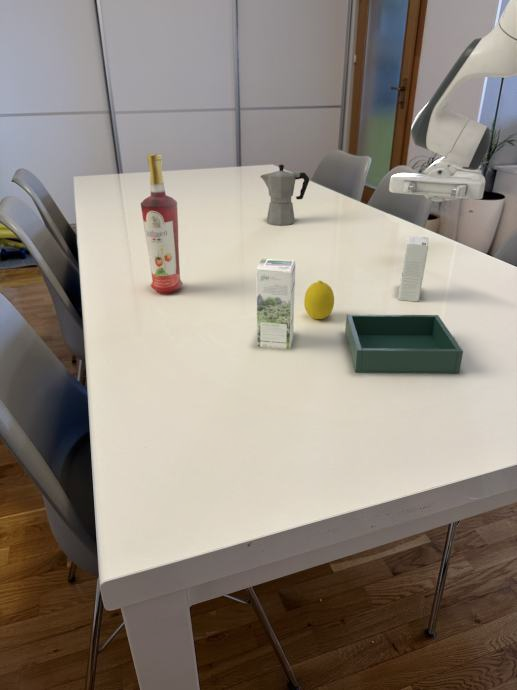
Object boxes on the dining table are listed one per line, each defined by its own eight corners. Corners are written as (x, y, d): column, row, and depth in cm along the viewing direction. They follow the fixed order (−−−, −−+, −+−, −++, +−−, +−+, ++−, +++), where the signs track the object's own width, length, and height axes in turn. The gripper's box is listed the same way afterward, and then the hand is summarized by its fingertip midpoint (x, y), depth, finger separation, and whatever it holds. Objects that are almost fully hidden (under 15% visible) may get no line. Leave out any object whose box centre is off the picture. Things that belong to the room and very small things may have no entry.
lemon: (307, 328, 94) (309, 286, 91) (300, 316, 99) (301, 276, 95) (336, 325, 95) (339, 285, 91) (328, 314, 100) (330, 275, 96)
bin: (434, 338, 90) (438, 314, 88) (458, 377, 78) (463, 351, 76) (344, 337, 90) (346, 314, 88) (354, 376, 78) (357, 350, 76)
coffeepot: (259, 225, 164) (259, 166, 156) (261, 219, 172) (260, 162, 164) (308, 225, 163) (310, 166, 155) (307, 219, 172) (309, 162, 163)
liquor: (188, 285, 115) (178, 153, 102) (177, 297, 109) (165, 157, 96) (157, 283, 116) (144, 152, 104) (145, 295, 110) (128, 157, 97)
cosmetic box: (398, 290, 111) (405, 235, 106) (420, 292, 110) (428, 236, 104) (397, 300, 106) (405, 243, 100) (420, 302, 105) (428, 244, 99)
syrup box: (294, 337, 91) (296, 258, 84) (290, 353, 85) (291, 269, 79) (262, 335, 91) (261, 256, 85) (256, 350, 86) (255, 268, 80)
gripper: (397, 164, 123) (384, 173, 111) (489, 169, 115) (485, 179, 104) (394, 192, 125) (381, 202, 114) (483, 198, 118) (479, 210, 107)
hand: (431, 191), depth 109 cm, fingers open, 8 cm apart
